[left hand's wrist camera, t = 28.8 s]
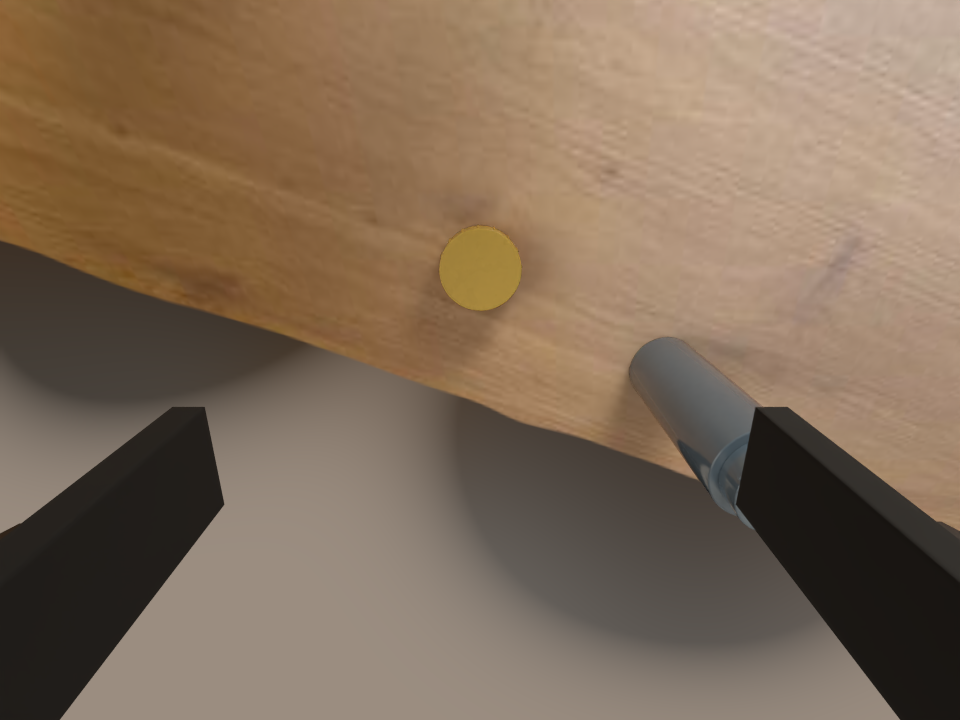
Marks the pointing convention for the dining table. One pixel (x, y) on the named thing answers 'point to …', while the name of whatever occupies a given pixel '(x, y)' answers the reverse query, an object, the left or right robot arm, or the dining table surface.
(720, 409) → the jar
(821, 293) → the dining table surface
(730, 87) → the dining table surface
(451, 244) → the lid
